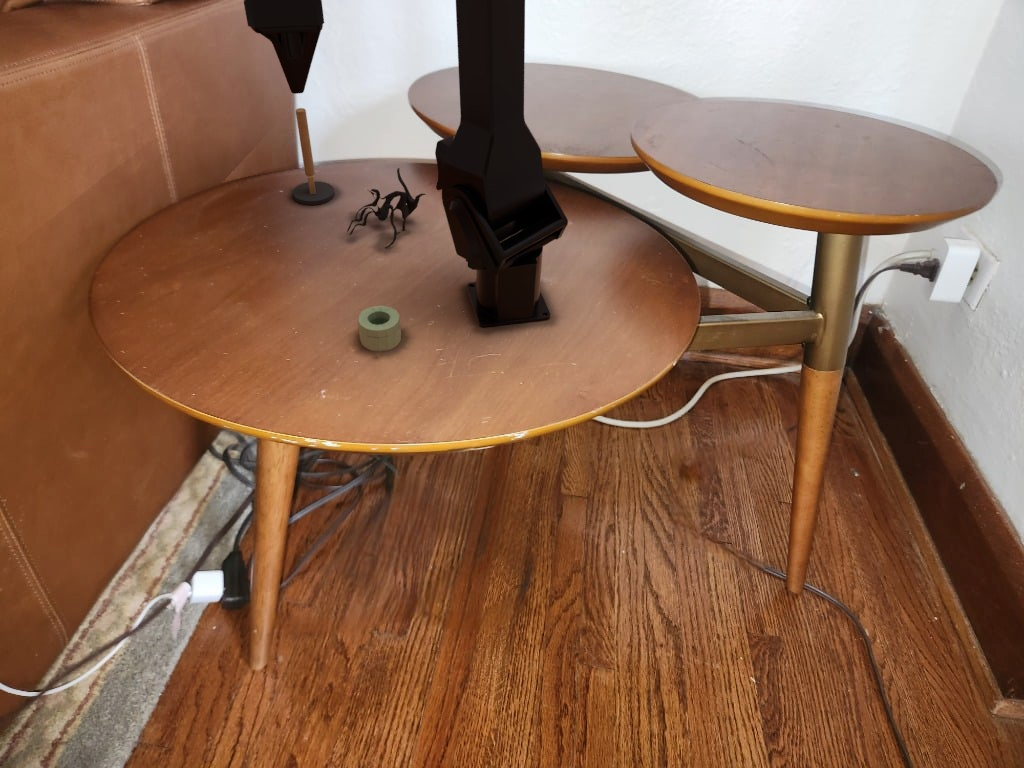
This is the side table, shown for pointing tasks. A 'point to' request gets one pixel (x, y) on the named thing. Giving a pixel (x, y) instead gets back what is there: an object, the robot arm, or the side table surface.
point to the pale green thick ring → (379, 328)
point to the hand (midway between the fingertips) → (295, 74)
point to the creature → (390, 207)
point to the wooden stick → (306, 147)
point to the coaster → (322, 194)
